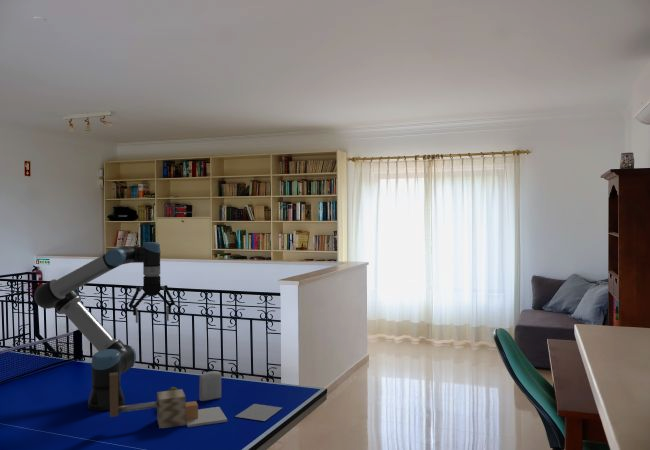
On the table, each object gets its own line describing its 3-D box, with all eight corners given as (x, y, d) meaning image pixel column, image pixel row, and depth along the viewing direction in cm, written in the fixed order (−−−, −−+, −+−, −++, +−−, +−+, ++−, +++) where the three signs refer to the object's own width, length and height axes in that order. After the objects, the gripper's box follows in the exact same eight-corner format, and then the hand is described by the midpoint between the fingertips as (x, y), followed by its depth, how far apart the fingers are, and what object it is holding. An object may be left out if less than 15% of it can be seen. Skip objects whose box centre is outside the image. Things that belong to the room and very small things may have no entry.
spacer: (185, 420, 220) (185, 406, 220) (183, 415, 225) (183, 402, 225) (198, 418, 222) (197, 405, 222) (196, 414, 227) (195, 401, 227)
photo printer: (219, 395, 254) (219, 368, 254) (222, 398, 250) (222, 371, 250) (197, 399, 248) (197, 372, 248) (201, 402, 245) (201, 374, 245)
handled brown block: (110, 417, 210) (109, 375, 210) (109, 413, 214) (109, 373, 213) (179, 408, 220) (179, 368, 220) (178, 405, 223) (177, 366, 223)
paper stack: (215, 415, 229) (215, 413, 229) (244, 397, 252) (244, 395, 252) (264, 422, 221) (264, 420, 221) (290, 403, 244) (290, 401, 244)
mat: (187, 427, 215) (187, 424, 215) (182, 414, 230) (182, 411, 230) (227, 421, 221) (227, 419, 221) (219, 408, 236) (219, 406, 236)
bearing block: (159, 428, 214) (159, 399, 214) (157, 419, 223) (156, 392, 223) (185, 424, 218) (185, 396, 218) (182, 416, 227) (182, 389, 227)
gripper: (123, 277, 244) (123, 324, 245) (180, 275, 254) (181, 320, 254) (122, 275, 251) (123, 321, 252) (178, 273, 261) (178, 318, 261)
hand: (152, 321), depth 253 cm, fingers open, 13 cm apart
